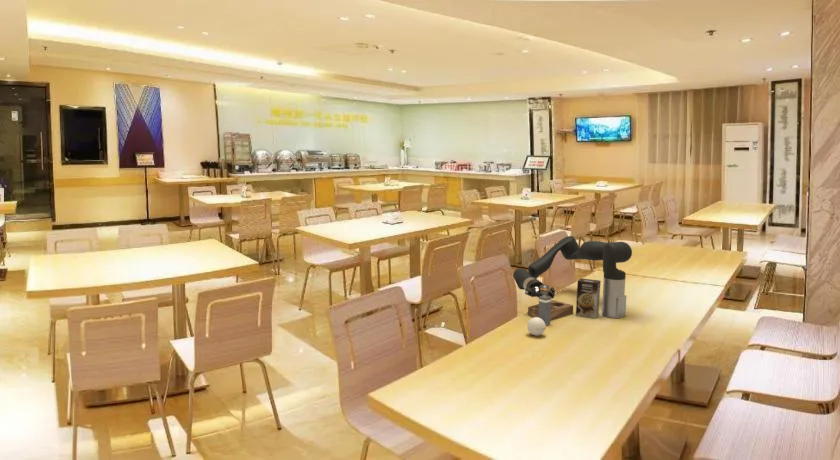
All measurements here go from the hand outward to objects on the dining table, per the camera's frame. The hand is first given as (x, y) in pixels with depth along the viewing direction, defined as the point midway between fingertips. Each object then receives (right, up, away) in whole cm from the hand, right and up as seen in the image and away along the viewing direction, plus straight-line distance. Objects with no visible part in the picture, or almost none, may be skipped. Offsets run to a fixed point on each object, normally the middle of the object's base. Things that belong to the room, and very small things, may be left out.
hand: (547, 296), depth 263 cm
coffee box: (+19, -9, +6) cm, 22 cm away
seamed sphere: (-8, -13, -21) cm, 26 cm away
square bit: (-3, -11, -7) cm, 13 cm away
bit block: (+3, -9, +7) cm, 12 cm away
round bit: (-1, -9, +4) cm, 10 cm away
